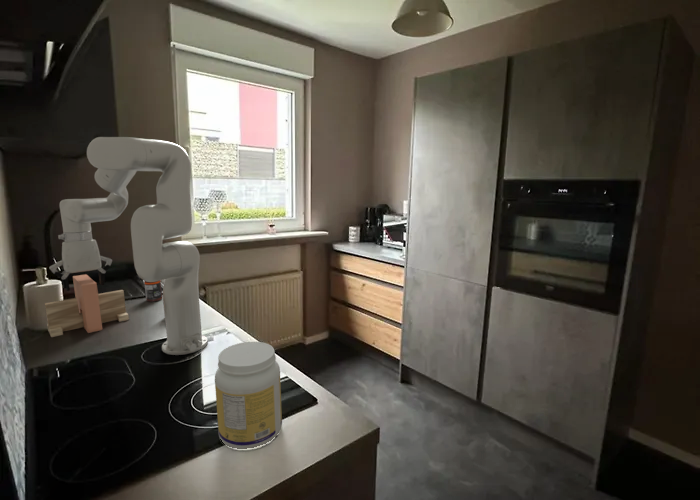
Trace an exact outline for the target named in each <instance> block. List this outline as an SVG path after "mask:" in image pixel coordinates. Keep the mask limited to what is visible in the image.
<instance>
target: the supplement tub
mask: <svg viewBox="0 0 700 500" xmlns="http://www.w3.org/2000/svg"><path fill="white" fill-rule="evenodd" d="M217 358H218V362H217V366H218V367H217V369H216V372H215V373H214V374H215V375H214V387H215V400H216V403H215V404H216V415H217V428H218V429H217V430H218V432H217V433H218V437H219V440H220V439H221V440H222V442H223V443H224V444H225V445H227V446H229V447H232V448H237V449H247V448H254V447H257V446H260V445H263V444H266V443H267V442H269V441H271V440H272V439H273V438H274V437H276V436H277V434H278V433H279V434H280V433H281V430H282V426H283V418H282V390H281V389H282V388H281V387H282V385H281V384H282V383H281V367H280V365H279V363H278V362H277V357H276V354H275V349H274V347H273V346H272V345H271V344H269V343H267V342H262V341H261V342H260V341H244V342H239V343H236V344H232V345H230V346H228V347H225V348H224V349H223V350H222V351H220V353H219V354H218V357H217ZM279 434H278V435H279ZM277 437H278V436H277ZM277 437H276V438H277ZM221 440H220V441H221ZM222 442H221V443H222ZM223 443H222V444H223ZM224 444H223V445H224ZM225 445H224V446H225ZM227 446H226V447H227Z"/></svg>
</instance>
